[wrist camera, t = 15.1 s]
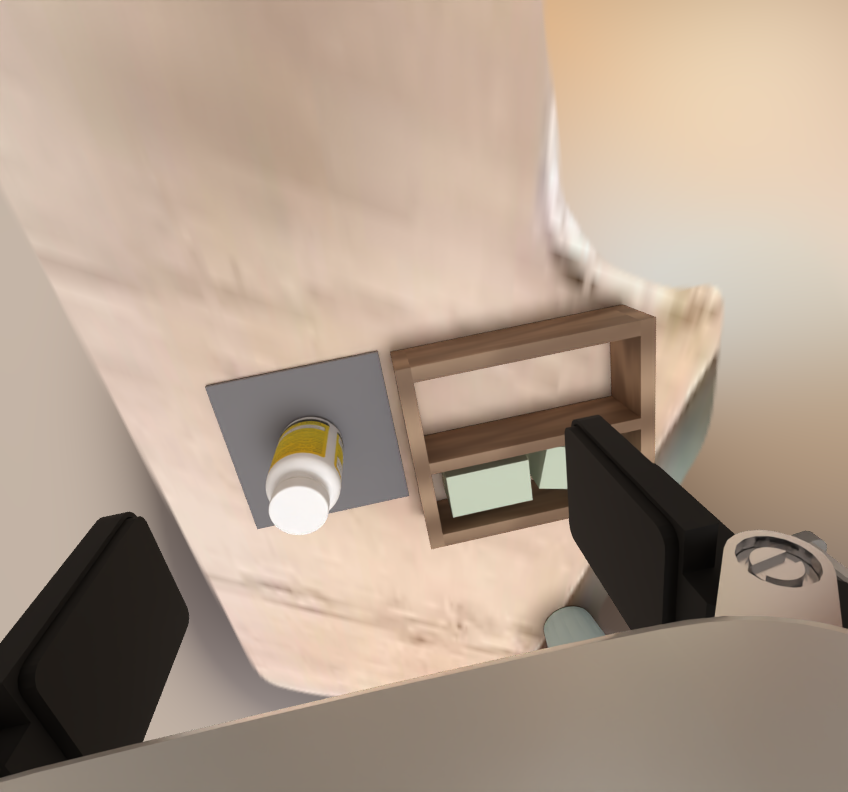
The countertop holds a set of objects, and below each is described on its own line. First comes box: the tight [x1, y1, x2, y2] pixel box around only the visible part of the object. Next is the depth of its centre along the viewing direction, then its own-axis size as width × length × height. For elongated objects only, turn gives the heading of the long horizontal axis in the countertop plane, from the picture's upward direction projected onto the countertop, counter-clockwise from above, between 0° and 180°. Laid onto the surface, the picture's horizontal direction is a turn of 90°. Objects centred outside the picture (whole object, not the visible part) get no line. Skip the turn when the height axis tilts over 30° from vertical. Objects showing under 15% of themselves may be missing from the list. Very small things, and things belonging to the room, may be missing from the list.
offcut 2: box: [525, 446, 567, 489], centre depth 44 cm, size 4×7×4 cm, turn 85°
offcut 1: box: [442, 454, 533, 518], centre depth 43 cm, size 4×7×4 cm, turn 100°
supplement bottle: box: [266, 417, 344, 535], centre depth 38 cm, size 5×5×10 cm
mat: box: [205, 351, 409, 529], centre depth 42 cm, size 14×14×1 cm
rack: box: [390, 305, 656, 549], centre depth 42 cm, size 16×20×5 cm
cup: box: [544, 606, 605, 648], centre depth 49 cm, size 8×8×10 cm
